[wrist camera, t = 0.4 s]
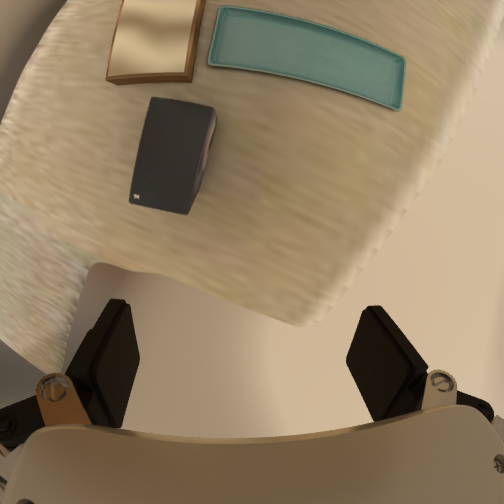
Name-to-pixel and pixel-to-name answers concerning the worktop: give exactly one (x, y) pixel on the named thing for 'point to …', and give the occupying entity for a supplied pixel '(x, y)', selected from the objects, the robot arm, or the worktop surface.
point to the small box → (172, 155)
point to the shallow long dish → (307, 54)
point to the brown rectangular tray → (155, 41)
